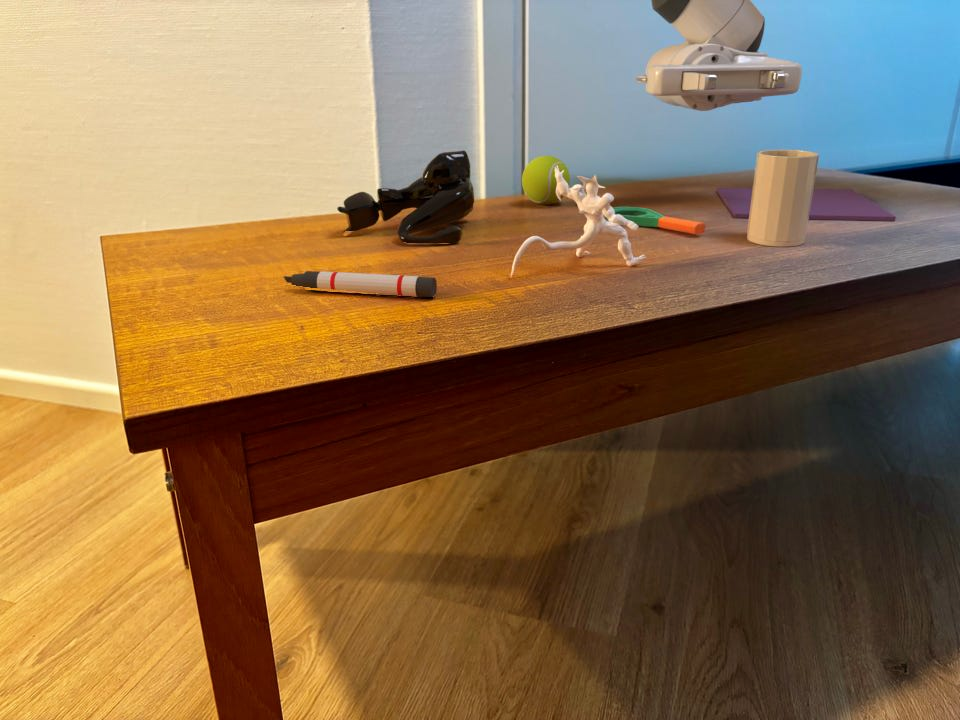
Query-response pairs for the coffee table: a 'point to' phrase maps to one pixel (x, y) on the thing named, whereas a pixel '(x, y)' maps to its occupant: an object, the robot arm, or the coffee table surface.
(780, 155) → the pen cup
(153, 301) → the coffee table surface
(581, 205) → the creature figurine
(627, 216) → the magnifying glass
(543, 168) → the tennis ball
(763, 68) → the robot arm
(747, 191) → the mat
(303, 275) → the marker
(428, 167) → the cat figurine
